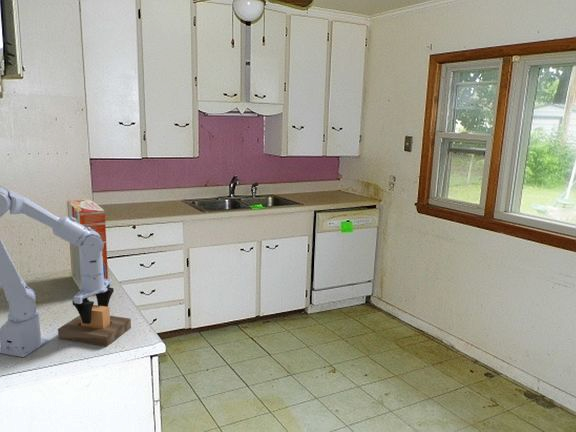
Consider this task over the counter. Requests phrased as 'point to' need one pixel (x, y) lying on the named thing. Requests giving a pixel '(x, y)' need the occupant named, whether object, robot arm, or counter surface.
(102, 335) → the keyed socket
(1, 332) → the robot arm
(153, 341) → the counter surface
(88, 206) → the cereal box
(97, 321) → the keyed peg
